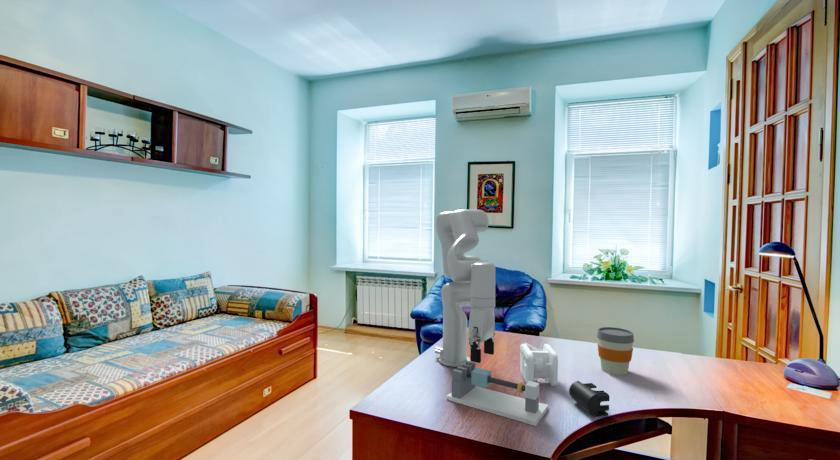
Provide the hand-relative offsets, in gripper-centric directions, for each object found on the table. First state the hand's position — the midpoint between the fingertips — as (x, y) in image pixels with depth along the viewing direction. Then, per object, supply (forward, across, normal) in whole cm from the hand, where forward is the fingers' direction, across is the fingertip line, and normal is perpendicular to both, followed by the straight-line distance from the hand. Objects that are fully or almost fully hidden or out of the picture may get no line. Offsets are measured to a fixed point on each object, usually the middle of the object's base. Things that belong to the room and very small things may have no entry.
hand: (482, 357), depth 123 cm
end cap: (+14, -14, +28) cm, 34 cm away
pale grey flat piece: (+13, -54, -5) cm, 56 cm away
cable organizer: (+13, -26, +9) cm, 30 cm away
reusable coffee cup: (+13, -53, +30) cm, 62 cm away
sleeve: (+9, -1, -1) cm, 9 cm away
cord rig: (+14, -1, +4) cm, 14 cm away
